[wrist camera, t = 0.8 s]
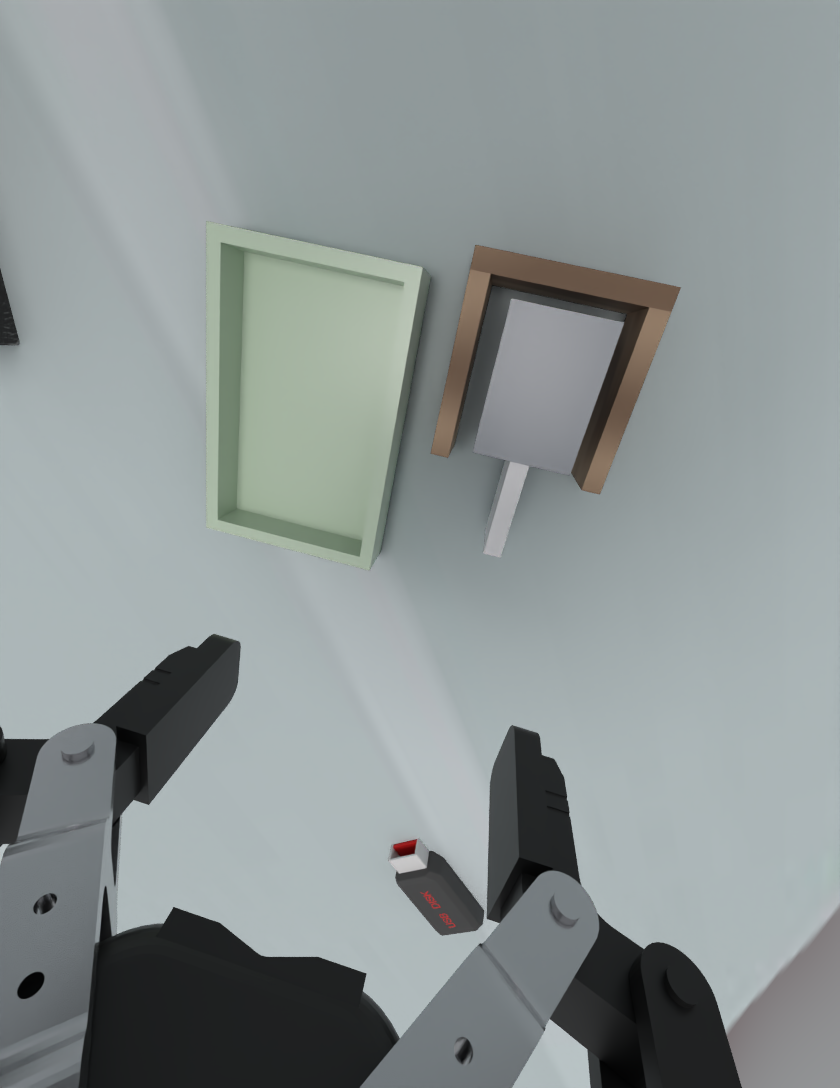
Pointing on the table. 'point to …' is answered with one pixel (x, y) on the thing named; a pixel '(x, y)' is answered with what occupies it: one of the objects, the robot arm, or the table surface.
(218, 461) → the tray
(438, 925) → the usb drive
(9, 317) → the radio
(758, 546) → the table surface
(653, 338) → the u-shaped wooden frame
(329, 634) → the table surface
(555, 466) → the grey block with stick
